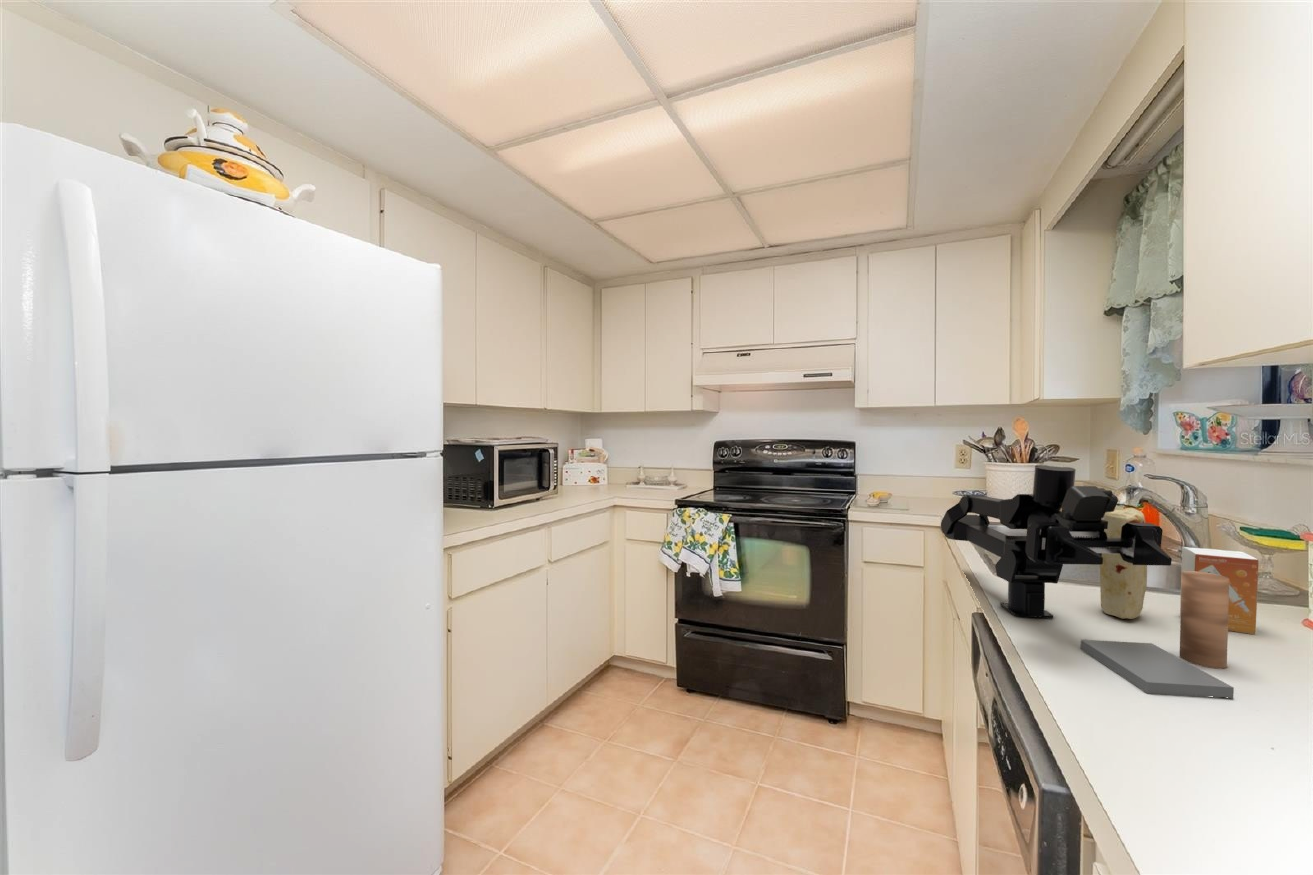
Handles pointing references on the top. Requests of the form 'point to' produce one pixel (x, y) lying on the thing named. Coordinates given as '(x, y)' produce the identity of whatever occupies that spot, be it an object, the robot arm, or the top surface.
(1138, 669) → the slate board
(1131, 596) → the food model
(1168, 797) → the top surface
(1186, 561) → the small box
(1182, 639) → the banded brown cylinder
